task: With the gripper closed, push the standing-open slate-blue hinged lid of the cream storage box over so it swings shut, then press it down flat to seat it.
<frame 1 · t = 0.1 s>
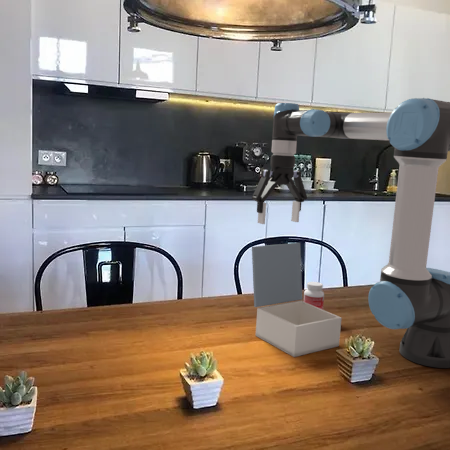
hand: (278, 222, 167), 28 cm above the table, fingers open, 13 cm apart
pill bottle: (311, 318, 164), on the table
lid: (276, 273, 151), point 16 cm above the table, hinge at 100.0°
box: (296, 340, 145), on the table
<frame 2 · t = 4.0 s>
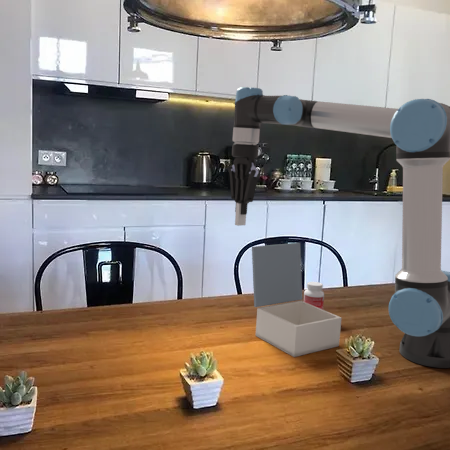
hand: (240, 224, 156), 29 cm above the table, fingers closed
nothing on the table moved.
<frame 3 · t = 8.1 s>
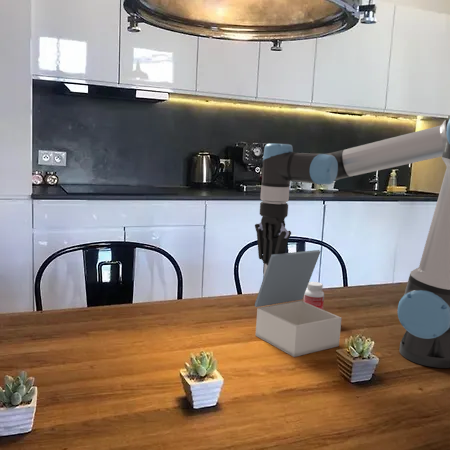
hand: (268, 286, 146), 14 cm above the table, fingers closed
lid: (286, 277, 147), point 16 cm above the table, hinge at 69.9°, touching gripper, hand
everything else where it was.
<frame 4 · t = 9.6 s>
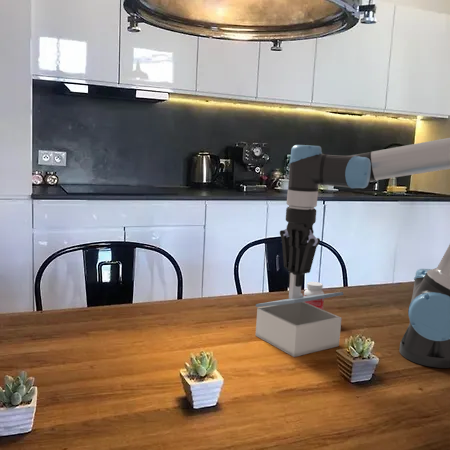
hand: (294, 297, 137), 14 cm above the table, fingers closed
lid: (298, 297, 144), point 12 cm above the table, hinge at 20.4°
everything else where it was.
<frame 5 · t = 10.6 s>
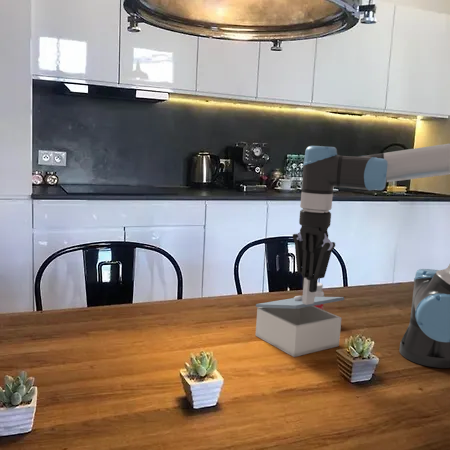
hand: (308, 303, 133), 14 cm above the table, fingers closed
lid: (299, 299, 143), point 11 cm above the table, hinge at 15.7°
everything else where it was.
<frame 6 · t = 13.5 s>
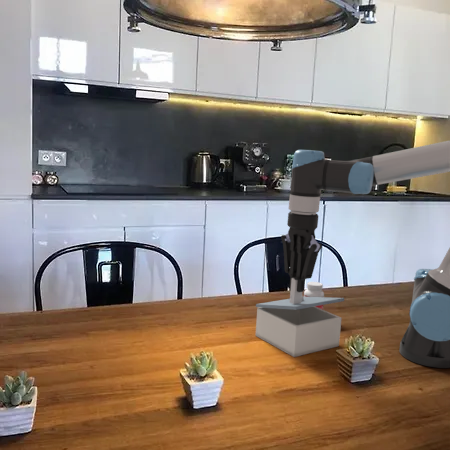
hand: (295, 302, 137), 13 cm above the table, fingers closed
lid: (299, 300, 143), point 11 cm above the table, hinge at 14.7°, touching gripper
everything else where it was.
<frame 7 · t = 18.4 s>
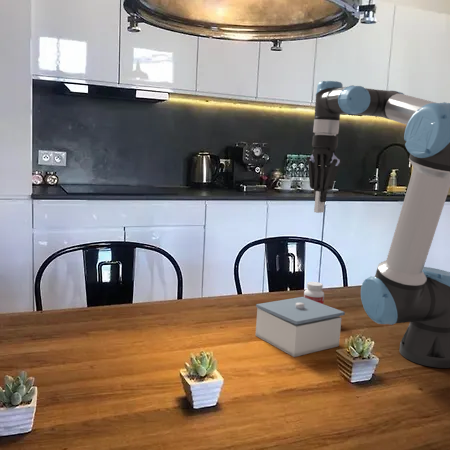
hand: (318, 212, 164), 32 cm above the table, fingers closed
lid: (299, 307, 143), point 10 cm above the table, hinge at 1.8°
everything else where it was.
at the end: lid at +2° (first picture: +100°) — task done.
